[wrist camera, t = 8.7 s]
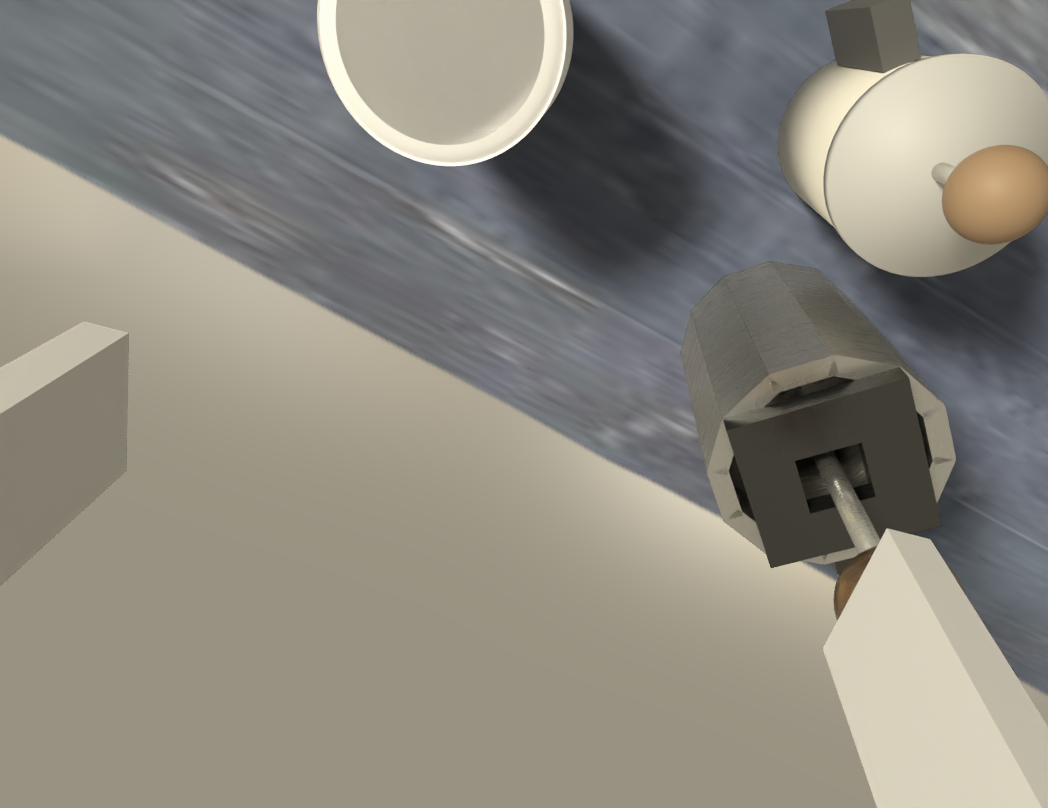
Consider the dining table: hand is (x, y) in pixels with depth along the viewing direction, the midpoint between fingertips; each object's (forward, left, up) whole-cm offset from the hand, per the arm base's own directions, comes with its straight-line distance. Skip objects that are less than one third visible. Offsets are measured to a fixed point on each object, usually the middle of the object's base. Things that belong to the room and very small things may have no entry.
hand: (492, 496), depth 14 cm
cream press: (-16, +3, -39) cm, 42 cm away
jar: (+2, -9, -39) cm, 40 cm away
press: (-8, +17, -39) cm, 43 cm away
